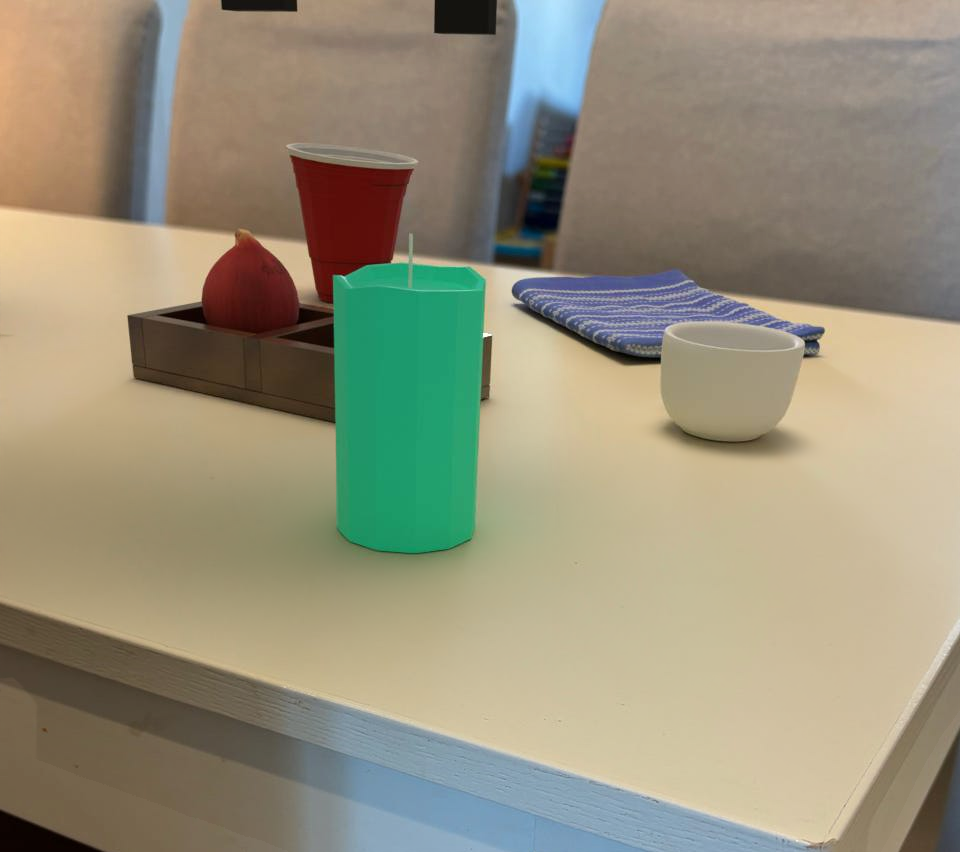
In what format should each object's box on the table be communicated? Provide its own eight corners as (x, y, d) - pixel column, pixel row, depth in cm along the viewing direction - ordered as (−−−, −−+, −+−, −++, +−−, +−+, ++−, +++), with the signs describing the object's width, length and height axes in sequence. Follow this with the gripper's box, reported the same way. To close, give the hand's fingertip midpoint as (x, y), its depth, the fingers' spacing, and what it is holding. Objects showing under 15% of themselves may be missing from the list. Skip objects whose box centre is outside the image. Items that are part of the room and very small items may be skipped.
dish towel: (677, 299, 102) (681, 267, 101) (828, 356, 82) (835, 318, 81) (504, 302, 97) (506, 269, 96) (621, 364, 77) (625, 323, 76)
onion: (289, 351, 73) (284, 223, 69) (309, 371, 68) (305, 235, 65) (200, 355, 71) (190, 223, 67) (214, 376, 66) (205, 235, 63)
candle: (420, 494, 52) (426, 221, 46) (504, 534, 47) (521, 240, 42) (310, 519, 48) (302, 227, 43) (390, 564, 44) (392, 248, 39)
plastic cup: (386, 316, 89) (387, 154, 84) (267, 302, 92) (260, 145, 87) (434, 295, 98) (438, 149, 93) (324, 284, 101) (322, 141, 96)
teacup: (818, 444, 62) (836, 347, 59) (703, 456, 59) (717, 354, 56) (714, 399, 70) (726, 312, 67) (609, 408, 67) (618, 317, 64)
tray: (133, 377, 68) (126, 315, 67) (246, 349, 76) (243, 293, 75) (393, 435, 60) (393, 365, 58) (489, 397, 68) (492, 334, 66)
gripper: (159, -1230, 22) (229, -4, 32) (644, -599, 41) (597, 42, 51) (-81, -1070, 25) (48, -3, 35) (473, -555, 45) (458, 39, 54)
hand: (374, 25), depth 43 cm, fingers open, 13 cm apart
